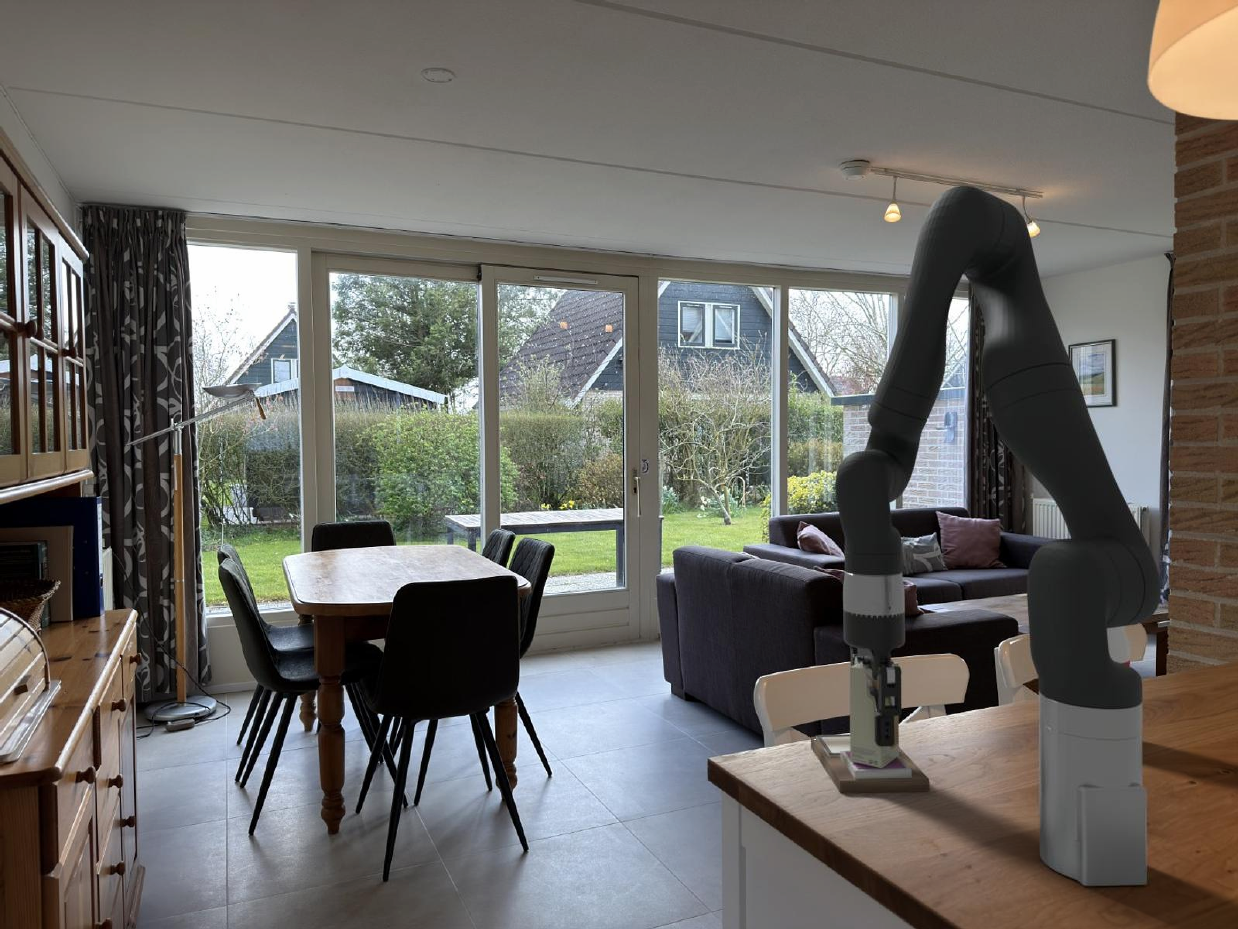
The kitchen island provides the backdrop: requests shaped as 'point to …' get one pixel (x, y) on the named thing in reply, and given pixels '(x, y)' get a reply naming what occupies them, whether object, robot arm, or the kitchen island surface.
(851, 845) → the kitchen island surface
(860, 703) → the skincare box
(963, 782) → the kitchen island surface
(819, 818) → the kitchen island surface
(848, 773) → the stamping board
